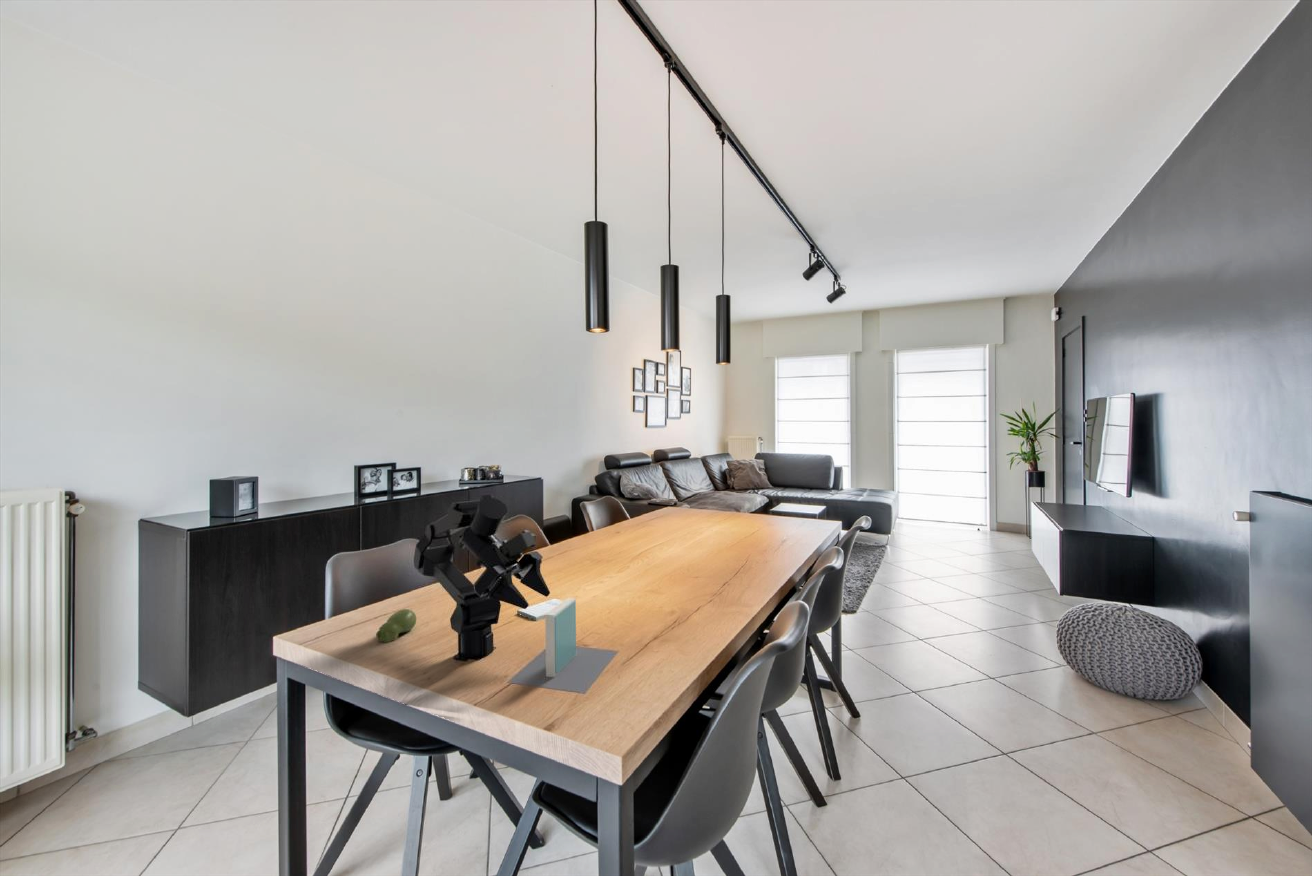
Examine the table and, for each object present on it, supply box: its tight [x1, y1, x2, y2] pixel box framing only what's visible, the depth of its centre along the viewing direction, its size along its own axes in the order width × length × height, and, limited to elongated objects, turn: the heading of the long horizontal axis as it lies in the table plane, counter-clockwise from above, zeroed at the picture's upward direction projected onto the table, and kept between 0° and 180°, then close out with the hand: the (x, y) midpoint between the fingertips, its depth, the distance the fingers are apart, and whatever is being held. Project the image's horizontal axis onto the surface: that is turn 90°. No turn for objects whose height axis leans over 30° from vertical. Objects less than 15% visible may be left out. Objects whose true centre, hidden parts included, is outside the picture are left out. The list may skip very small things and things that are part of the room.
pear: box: [375, 608, 417, 643], centre depth 119 cm, size 6×5×10 cm
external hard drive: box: [516, 598, 564, 622], centre depth 134 cm, size 2×8×12 cm
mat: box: [506, 645, 619, 694], centre depth 100 cm, size 16×18×1 cm
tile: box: [544, 597, 577, 677], centre depth 101 cm, size 2×10×12 cm, turn 165°
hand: (538, 600), depth 101 cm, fingers open, 9 cm apart
